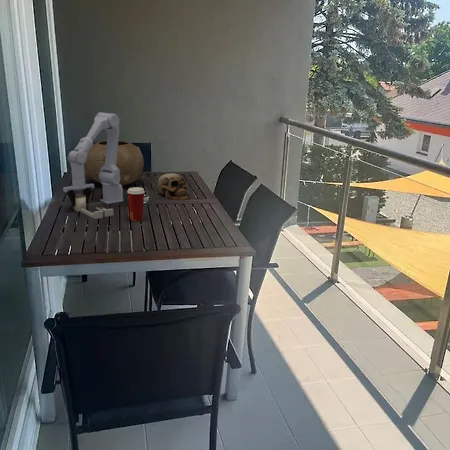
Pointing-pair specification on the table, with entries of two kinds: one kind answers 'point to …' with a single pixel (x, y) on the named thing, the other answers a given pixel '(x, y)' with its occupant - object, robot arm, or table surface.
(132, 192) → the paper cup
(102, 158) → the ceramic pot
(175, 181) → the tan skull
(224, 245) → the table surface
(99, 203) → the pusher
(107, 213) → the lane
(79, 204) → the jar
